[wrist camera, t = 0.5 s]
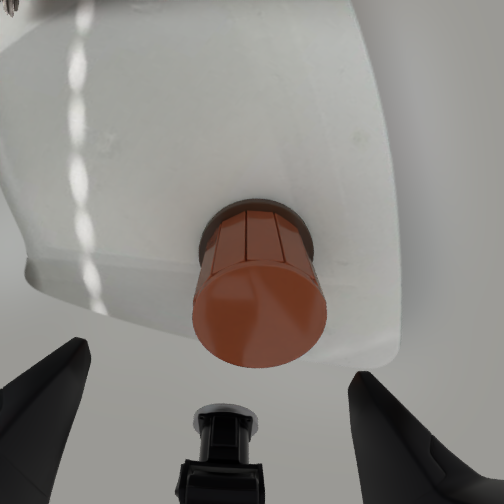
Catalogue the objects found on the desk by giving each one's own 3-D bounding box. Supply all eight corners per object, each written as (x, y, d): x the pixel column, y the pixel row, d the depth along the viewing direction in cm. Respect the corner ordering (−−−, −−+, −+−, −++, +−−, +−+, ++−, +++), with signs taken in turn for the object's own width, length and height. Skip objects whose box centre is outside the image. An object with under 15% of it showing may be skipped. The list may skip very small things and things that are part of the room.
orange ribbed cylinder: (298, 299, 23) (313, 368, 17) (207, 295, 23) (195, 365, 17) (312, 214, 20) (339, 268, 14) (207, 208, 20) (189, 261, 14)
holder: (303, 300, 24) (316, 352, 19) (200, 295, 24) (190, 347, 19) (319, 202, 21) (342, 238, 16) (199, 195, 20) (183, 230, 15)
